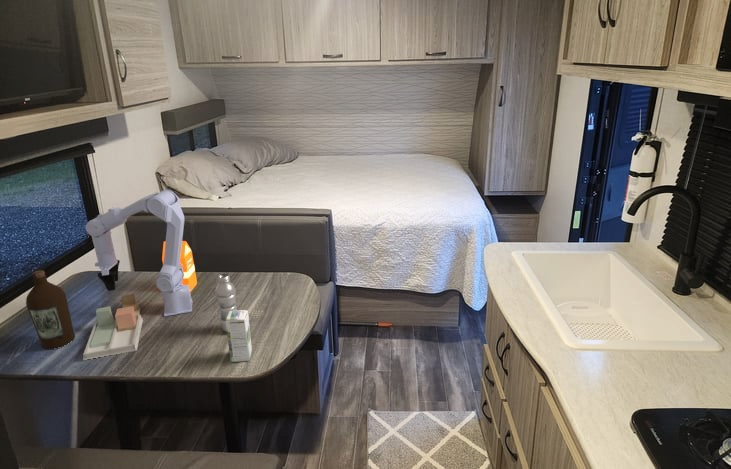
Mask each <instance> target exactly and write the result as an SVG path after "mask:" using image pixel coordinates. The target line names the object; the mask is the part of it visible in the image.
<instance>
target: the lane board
mask: <svg viewBox="0 0 731 469" xmlns="http://www.w3.org/2000/svg"><path fill="white" fill-rule="evenodd" d="M143 320H144V319H143V317H142V314H140V313H139V315H138V320H137V324H136V329H131V330H125V331H120V332H118V330H117V329H118V326H117V322H116V324H115V327H114V331H113V334H112V338H111V341H110V344H109V345H104V346H99V347H93V348H91V346H90V345H91V342H92V339H93V336H94V333H95V331H96V328H97V325H98V321H95V322H94V324H93V327H92V329H91V333H90V335H89V338H88V341H87V344H86V346H85V349H84V351H83V354H82V356H83V357H82V360H86V361H88V360H87V359H91V360H94V359H93V358H96V359H99V358H98V357H101V358H105V357H104V356H107V357H110V356H109V355H112V356H116V354H117V355H121V353H122V354H126V352H127V353H132V352H137V351H138V346H139V341H140V336H141V332H142V326H143Z"/></svg>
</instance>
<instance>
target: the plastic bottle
mask: <svg viewBox="0 0 731 469" xmlns="http://www.w3.org/2000/svg"><path fill="white" fill-rule="evenodd" d="M214 293H215V297H216V299H217V302H218V307H219V316H220V321H219V322H220V323H219V325H220V328H221V330H223V331H224V332H226V333H227V330H226V322H225V321H226V319H227V316H228V313H229V311H234V310H238V308H237V300H236V299H237V298H236V297H237V296H236V295H237V291H236V286H235V284H233V283H232V282H231V277H230V274H229V273H227V272H225V273H224V272H223V273H220V274H218V275H217V285H216V288H215V292H214Z"/></svg>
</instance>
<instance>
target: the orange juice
mask: <svg viewBox="0 0 731 469" xmlns="http://www.w3.org/2000/svg"><path fill="white" fill-rule="evenodd" d="M165 242H166V240H165V241H163V246H162V256H161V257H162V258H161V261H162V264H163V263H164V253H165ZM180 263H181V264H182V265H183V266H182V269H183V272H184V278H183V279H182V284H183V285H189V288H190V293H191V292H192V291H193V289H194V288H195V287H196V285H197V284H198V281H197V275H196V267H195V263H194V257H193V251H192V249H191V247H190V246H189V244H188V242H187V241H186V240H182V247H181V256H180Z"/></svg>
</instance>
